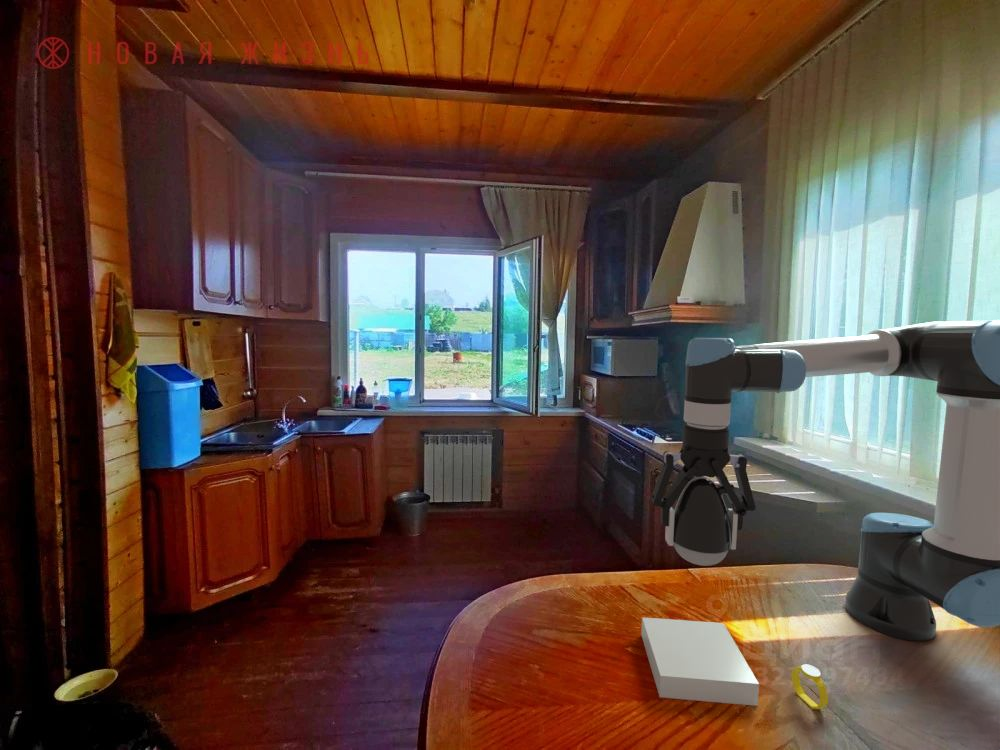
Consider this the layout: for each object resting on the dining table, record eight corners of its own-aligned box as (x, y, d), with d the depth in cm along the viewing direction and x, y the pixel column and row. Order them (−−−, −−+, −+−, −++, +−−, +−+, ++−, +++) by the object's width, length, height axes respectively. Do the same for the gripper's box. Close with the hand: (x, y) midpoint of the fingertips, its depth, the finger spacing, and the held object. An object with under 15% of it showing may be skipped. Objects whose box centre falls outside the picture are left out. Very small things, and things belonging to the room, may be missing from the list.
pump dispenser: (738, 576, 78) (743, 490, 76) (674, 569, 80) (677, 485, 79) (722, 548, 88) (726, 471, 86) (665, 543, 90) (668, 467, 88)
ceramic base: (722, 641, 93) (723, 623, 92) (757, 705, 77) (759, 683, 77) (641, 635, 95) (642, 617, 94) (659, 697, 79) (660, 675, 78)
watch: (829, 715, 76) (835, 684, 75) (815, 718, 75) (820, 686, 74) (799, 685, 81) (803, 655, 80) (786, 687, 81) (790, 658, 80)
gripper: (763, 422, 84) (756, 538, 86) (636, 418, 86) (632, 531, 89) (784, 431, 76) (775, 558, 79) (644, 427, 79) (639, 550, 81)
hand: (699, 544), depth 84 cm, fingers closed on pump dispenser, 10 cm apart
